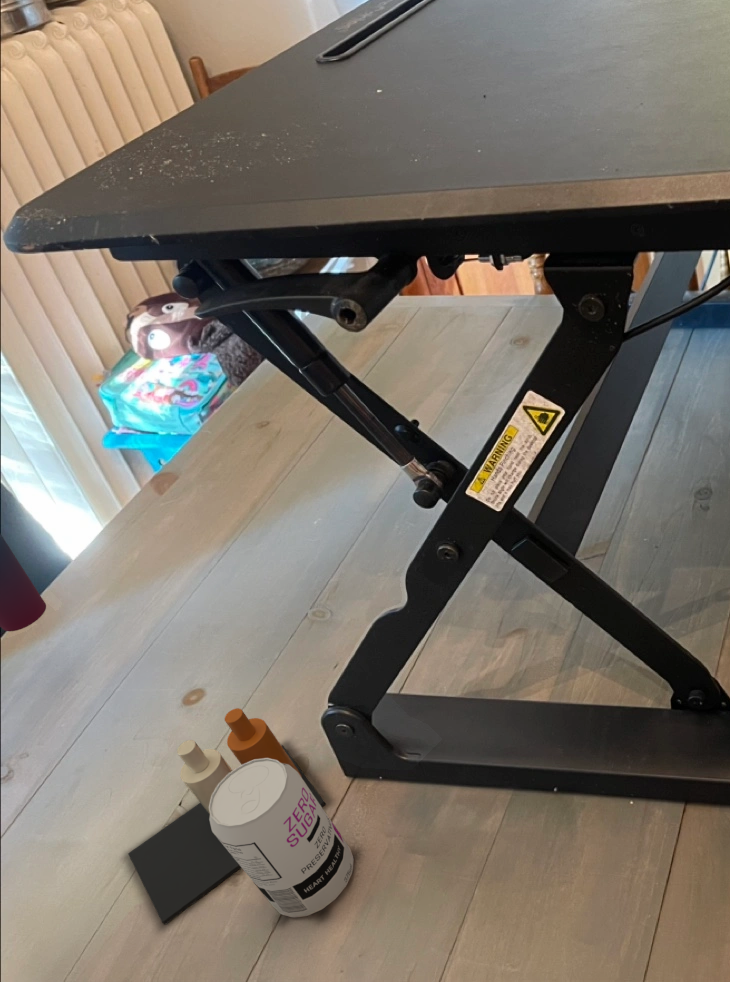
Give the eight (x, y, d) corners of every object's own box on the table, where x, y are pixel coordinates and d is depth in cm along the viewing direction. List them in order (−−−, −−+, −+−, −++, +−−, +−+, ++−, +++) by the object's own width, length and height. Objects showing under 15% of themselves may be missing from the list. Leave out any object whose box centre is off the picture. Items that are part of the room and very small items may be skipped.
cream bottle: (229, 841, 109) (173, 771, 102) (215, 819, 111) (159, 749, 104) (265, 815, 111) (212, 745, 103) (250, 793, 113) (198, 723, 106)
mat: (164, 924, 103) (162, 922, 103) (130, 856, 110) (127, 853, 110) (326, 804, 111) (324, 801, 111) (284, 747, 118) (282, 744, 118)
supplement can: (271, 864, 106) (202, 775, 97) (352, 830, 108) (292, 739, 99) (274, 935, 100) (200, 847, 91) (360, 897, 102) (295, 807, 93)
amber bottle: (273, 809, 111) (221, 738, 104) (259, 787, 114) (207, 717, 106) (308, 784, 113) (259, 713, 106) (293, 763, 116) (244, 692, 108)
